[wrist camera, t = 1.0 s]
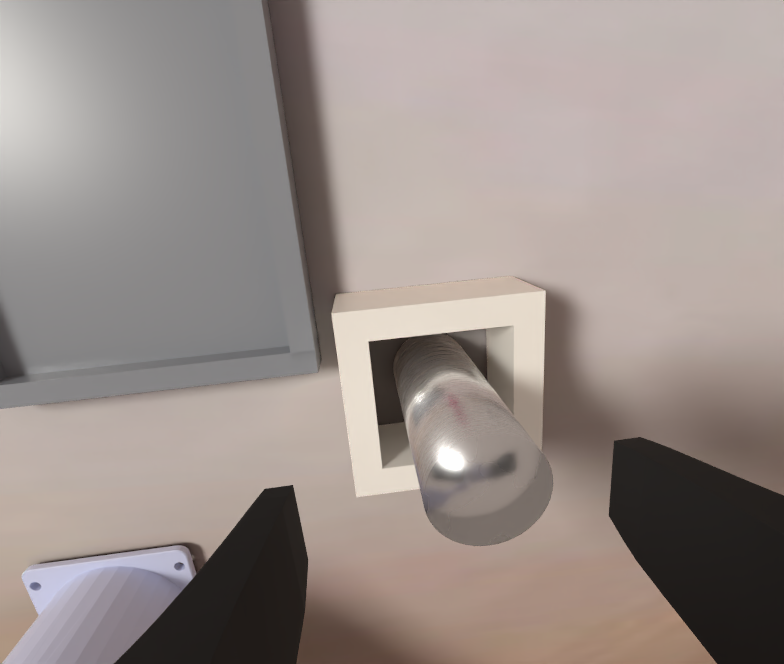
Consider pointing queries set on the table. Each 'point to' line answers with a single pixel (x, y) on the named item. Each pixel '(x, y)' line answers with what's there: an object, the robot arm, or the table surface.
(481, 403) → the steel pin
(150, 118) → the tray
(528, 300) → the white hollow block
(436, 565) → the table surface
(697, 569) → the robot arm
